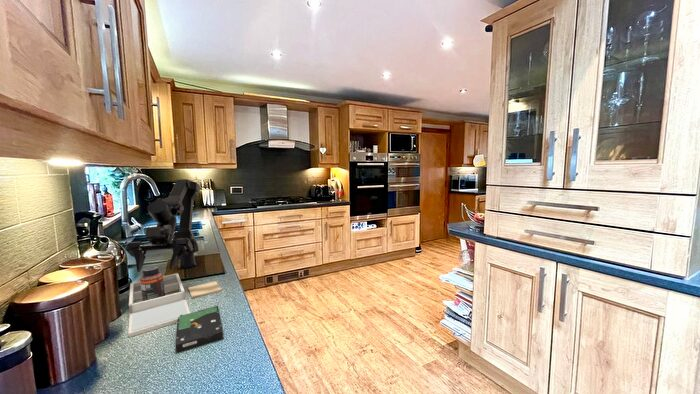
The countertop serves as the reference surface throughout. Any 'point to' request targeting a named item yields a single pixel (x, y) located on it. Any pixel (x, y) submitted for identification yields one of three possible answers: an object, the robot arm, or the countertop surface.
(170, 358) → the countertop surface
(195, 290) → the cork mat
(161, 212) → the robot arm
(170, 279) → the equipment case
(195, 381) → the countertop surface
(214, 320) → the disk drive
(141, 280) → the supplement bottle
